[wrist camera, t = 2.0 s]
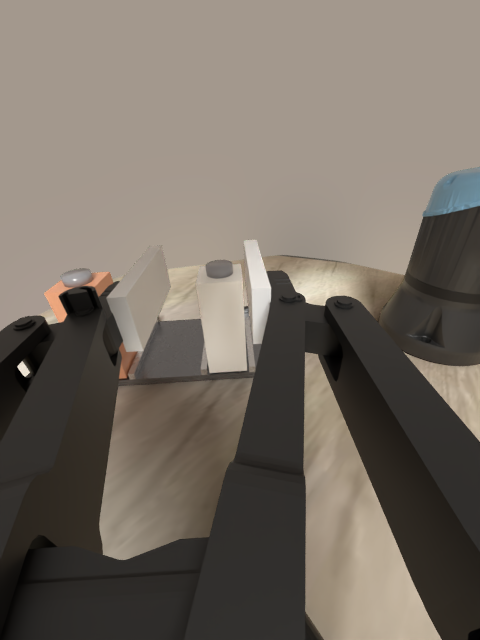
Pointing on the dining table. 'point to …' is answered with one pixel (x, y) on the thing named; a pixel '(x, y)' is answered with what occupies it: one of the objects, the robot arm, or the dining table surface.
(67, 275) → the orange square bottle
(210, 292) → the white square bottle
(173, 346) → the dark grey divided tray
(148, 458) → the dining table surface
